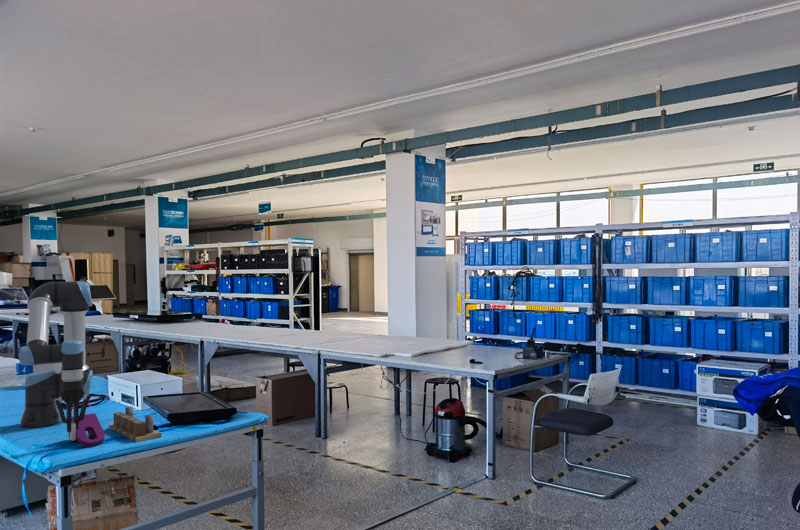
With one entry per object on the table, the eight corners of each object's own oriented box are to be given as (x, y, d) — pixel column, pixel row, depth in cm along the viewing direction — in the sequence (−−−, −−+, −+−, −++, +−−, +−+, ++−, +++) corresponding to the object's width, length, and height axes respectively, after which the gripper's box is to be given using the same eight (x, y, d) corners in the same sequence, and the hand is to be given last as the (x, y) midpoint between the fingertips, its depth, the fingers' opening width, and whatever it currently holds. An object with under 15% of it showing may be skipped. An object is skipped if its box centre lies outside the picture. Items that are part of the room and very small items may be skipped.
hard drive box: (63, 385, 355) (62, 353, 355) (52, 387, 348) (52, 354, 348) (43, 384, 359) (43, 352, 360) (32, 386, 352) (32, 354, 352)
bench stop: (108, 427, 252) (108, 408, 252) (132, 423, 259) (131, 404, 259) (136, 442, 229) (136, 420, 229) (161, 436, 236) (161, 416, 236)
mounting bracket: (105, 456, 230) (92, 429, 242) (108, 439, 227) (95, 413, 239) (78, 462, 223) (67, 434, 235) (81, 444, 221) (69, 417, 233)
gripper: (56, 383, 220) (56, 445, 220) (93, 378, 230) (93, 438, 229) (51, 381, 226) (51, 441, 225) (87, 376, 235) (87, 434, 234)
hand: (72, 439), depth 227 cm, fingers closed
